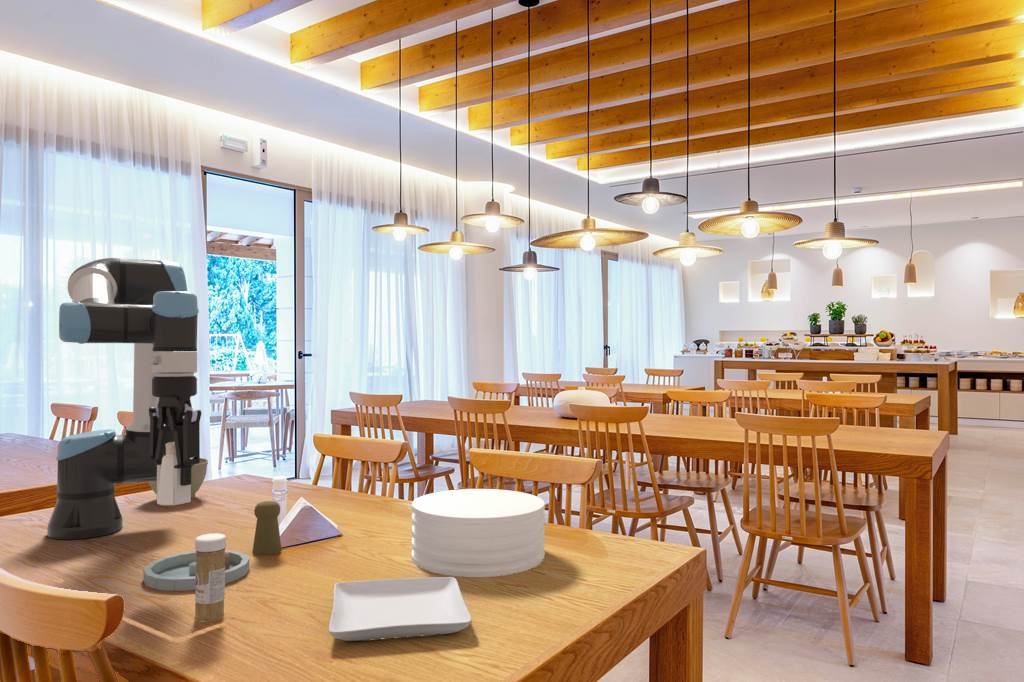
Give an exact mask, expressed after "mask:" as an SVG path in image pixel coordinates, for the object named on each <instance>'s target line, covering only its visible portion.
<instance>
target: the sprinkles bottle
mask: <svg viewBox="0 0 1024 682" xmlns="http://www.w3.org/2000/svg"><path fill="white" fill-rule="evenodd" d="M194 541H195V542H194V551H196V585H195V590H194V592H195V594H194V601H195V604H194V605H195V606H194V607H195V608H194V611H195V613H194V618H193V620H194V621H195V622H198V623H211V622H217V621H218V620H221V619H223V618H224V617H225V615H226V614H225V612H224V610H225V596H226V594H225V590H226V584H225V550H226V547H227V536H226V535H225V534H223V533H218V532H217V533H213V532H212V533H205V534H201V535H199V536H197V537H196V538H195V539H194Z"/></svg>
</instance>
